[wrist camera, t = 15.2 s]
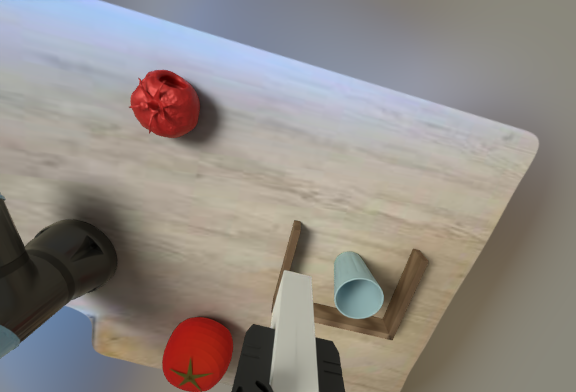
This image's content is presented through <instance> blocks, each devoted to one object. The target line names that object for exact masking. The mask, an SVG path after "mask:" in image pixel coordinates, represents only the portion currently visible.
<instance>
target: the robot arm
mask: <svg viewBox="0 0 576 392" xmlns="http://www.w3.org/2000/svg"><path fill="white" fill-rule="evenodd" d="M5 200H6V199H5V197H4V196H2V195H1V193H0V359H1V358H2V357H3V356H4V355H6V354H7V353H9V352H10V351H11V350H13V349H15V348H16V347H18V346H19V344H20V343H21V342H22V341H23V340H24V339H26V338H27V337H28V336H29V335H30V334H32V333H33V332H34V331H35V330H36V329H37V328H39V327H40V326H41V325H42V324H43V323H45V321H47V320H48V319H49V318H50V317H52V316H53V315H54V314H55V313H56V312H58V311H59V310H60V309H61V308H62V307H63V306H65V305H66V304H67V303H68V302H69V301H71V300H73V299H76V298H78V297H80V296H82V295H84V294H86V293H89V292H92V291H94V290H97V289H98V288H100V287H101V286H103V285H104V284H105V283H106V282H107V281H108V280H109V279H110V278H111V277H112V276H113V274H114V273H115V270H116V266H117V257H116V253H115V250H114V248H113V246H112V244H111V242H110V241H109V240H108V238H107V237H106V236H105V235H104V234H103V233H102V232H101V231H99V230H98V229H97V228H95V227H94V226H92V225H90V224H88V223H85V222H82V221H78V220H62V221H58V222H56V223H54V224H52V225H49V226H47V227H45V228H44V229H42V230H41V231H40V232H39V233H38V234H37V235H36V236H35V238H34V239H32V240H31V241H30V242H29V243H28V244H27V245H26V246H25V247H24V244H23V242H22V240H21V238H20V236H19V233H18V231H17V229H16V227H15V225H14V222H13V220H12V218H11V216H10V213H9V211H8V209H7V207H6V205H5V202H4V201H5ZM232 392H345V389H344V382H343V377H342V369H341V363H340V357H339V352H338V350H337V348H336V347H335V345H334V343H333V341H329V340H324V339H320V338H316V337H315V326H314V310H313V295H312V279H311V276H308V275H304V274H299V273H295V272H291V271H287V270H284V272H283V275H282V279H281V283H280V286H279V290H278V294H277V297H276V301H275V305H274V308H273V313H272V320H271V328H268V327H264V326H260V325H255V324H253V325H252V326H251V327H250V328H249V330H248V331H247V332H246V335H245V339H244V343H243V347H242V351H241V355H240V360H239V364H238V368H237V372H236V376H235V380H234V384H233V388H232Z"/></svg>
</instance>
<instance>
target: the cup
mask: <svg viewBox="0 0 576 392" xmlns="http://www.w3.org/2000/svg"><path fill="white" fill-rule="evenodd" d="M334 301H335V305H336V307H337V309H338V310H339V311H340V312H341V313H342V314H343V315H345V316H347V317H349V318H353V319H363V318H367V317H370V316H372V315H374V314H375V313H376V312H378V310H379V309H380V308H381V306H382V304H383V301H384V295H383V291H382V289H381V287H380V286H379V284H378V283H377V281H376V280H375V278H374V277H373V275H372V274H371V272H370V271H369V269H368V268H367V266H366V264H365V263H364V261H363V260H362V258H361V257H360V256H359V255H358V254H357V253H354V252H344V253H341V254H340V255H339V256H338V257H337V258H336V260H335V263H334Z"/></svg>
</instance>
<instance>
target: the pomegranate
mask: <svg viewBox="0 0 576 392" xmlns="http://www.w3.org/2000/svg"><path fill="white" fill-rule="evenodd" d="M138 79H139V80H140V83H139V86H138V87H137V88H136V90H135V91H134V92H133V93H132V95H131V106H130V107H129V108H132V110H133V111H134V114H135V116H136V118H137V119H138V121H139V122H140V123H141V125H142V126H143V127H145V128H146V129H148V130H149V133H150V132H151V131H152V132H153V133H155V134H156V135H159V136H163V137H168V138H177V137H180V136H182V135H184V134H186V133H188V132H189V131H191V130H192V129H193V128H194V127H195V126H196V125H197V122H198V117H199V111H200V102H199V98H198V96H197V93H196V91H195V90H194V88H193V87H192V86H191V84H190V83H188V82H187V81H186V80H185V79H183V78H182V77H180V76H178V75H176V74H175V73H173V72H171V71H168V70H155V71H151V72H148V74H147V75H146V77H145V78H144V79H143V80H142V81H141V79H140V78H138Z"/></svg>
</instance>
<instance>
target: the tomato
mask: <svg viewBox="0 0 576 392" xmlns="http://www.w3.org/2000/svg"><path fill="white" fill-rule="evenodd" d="M232 351H233V340H232V336H231V333H230V332H229V330H228V329H227V328H226V327H225V326H223V325H222V324H220V323H218V322H216V321H214V320H212V319H209V318H204V317H194V318H189V319H187V320H185V321H183V322H182V323H180V324H179V325H178V326H177V327H176V329H175V330H174V331H173V333H172V335H171V337H170V339H169V341H168V343H167V346H166V348H165V351H164V355H163V361H162V363H163V372H164V375H165V377H166V379H167V380H168V382H170V383H171V384H172V385H174V386H175V387H177V388H179V389H182V390H185V391H190V392H202V391H207V390H209V389H211V388H212V387H213V386H214V385H216V384H217V383H218V382H219V381H220V380H221V378H222V377H223V375H224V374H225V372H226V371H227V368H228V366H229V363H230V361H231V357H232Z"/></svg>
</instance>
